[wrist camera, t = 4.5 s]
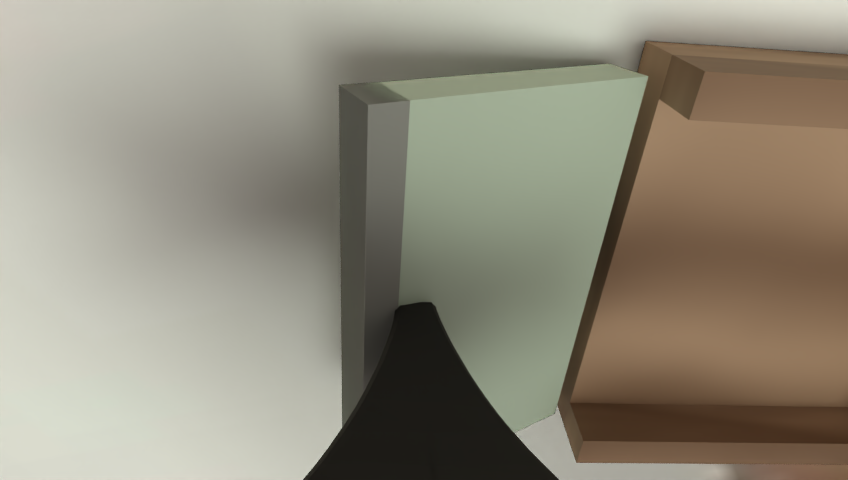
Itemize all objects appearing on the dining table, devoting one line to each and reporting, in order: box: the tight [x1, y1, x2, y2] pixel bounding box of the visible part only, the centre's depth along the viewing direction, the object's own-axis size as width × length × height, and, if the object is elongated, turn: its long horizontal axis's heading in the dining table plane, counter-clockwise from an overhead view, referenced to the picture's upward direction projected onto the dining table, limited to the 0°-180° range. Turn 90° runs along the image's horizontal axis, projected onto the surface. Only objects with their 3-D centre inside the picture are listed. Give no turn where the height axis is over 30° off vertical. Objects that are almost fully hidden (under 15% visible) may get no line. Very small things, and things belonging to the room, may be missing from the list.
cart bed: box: [557, 41, 848, 465], centre depth 15 cm, size 12×11×4 cm
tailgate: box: [339, 64, 648, 433], centre depth 14 cm, size 11×1×7 cm
